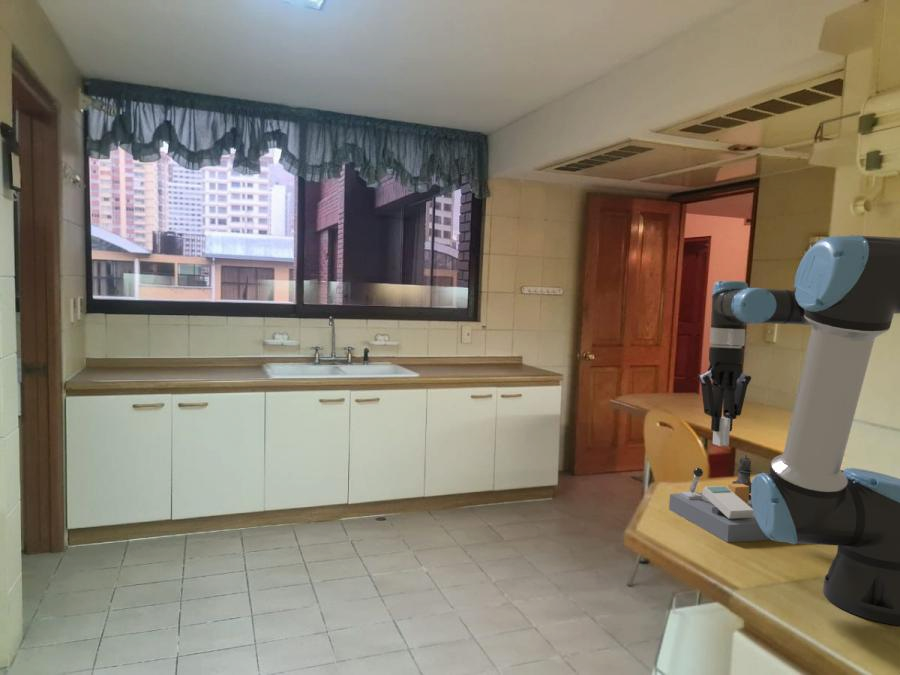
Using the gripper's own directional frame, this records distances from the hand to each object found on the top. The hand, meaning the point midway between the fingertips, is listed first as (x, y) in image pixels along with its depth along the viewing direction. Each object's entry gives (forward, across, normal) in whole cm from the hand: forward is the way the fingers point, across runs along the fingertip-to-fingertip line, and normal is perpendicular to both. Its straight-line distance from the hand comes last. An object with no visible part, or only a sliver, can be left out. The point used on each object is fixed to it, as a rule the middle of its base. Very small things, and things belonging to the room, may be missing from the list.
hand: (720, 444), depth 143 cm
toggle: (+15, +1, -8) cm, 17 cm away
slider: (+15, -8, -2) cm, 18 cm away
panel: (+19, -4, 0) cm, 20 cm away
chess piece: (+20, -23, -18) cm, 35 cm away
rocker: (+13, 0, +4) cm, 13 cm away
